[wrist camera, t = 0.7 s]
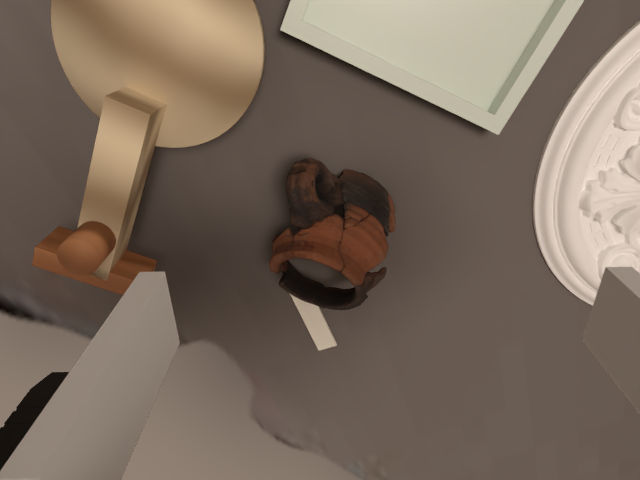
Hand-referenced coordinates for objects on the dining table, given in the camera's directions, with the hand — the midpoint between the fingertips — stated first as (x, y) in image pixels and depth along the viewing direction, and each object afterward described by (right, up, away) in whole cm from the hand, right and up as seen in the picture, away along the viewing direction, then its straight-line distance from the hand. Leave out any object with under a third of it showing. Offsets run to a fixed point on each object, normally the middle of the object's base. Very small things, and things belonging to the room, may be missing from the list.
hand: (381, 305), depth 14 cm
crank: (-13, +10, +15) cm, 23 cm away
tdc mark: (-3, -5, +26) cm, 27 cm away
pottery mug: (-1, +4, +22) cm, 22 cm away
